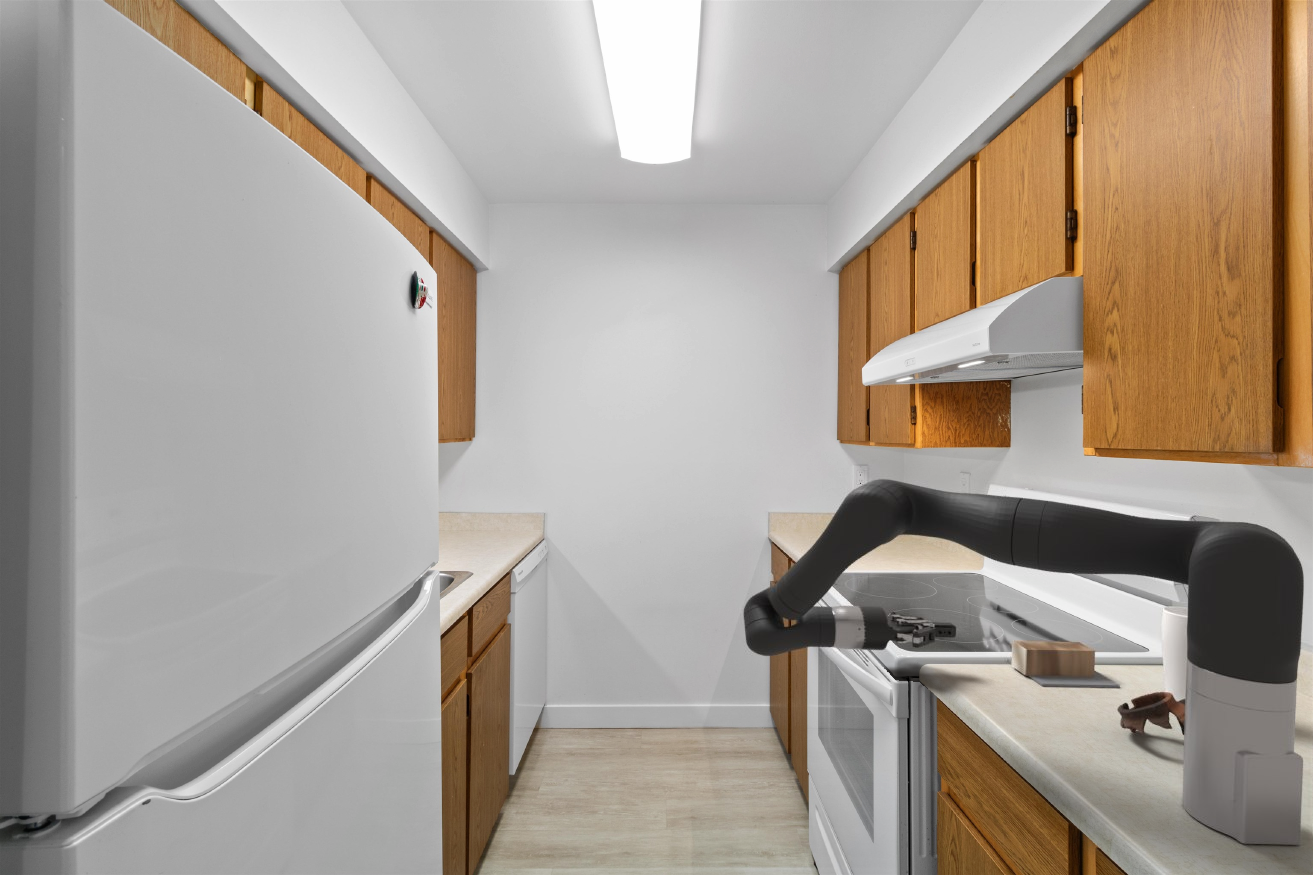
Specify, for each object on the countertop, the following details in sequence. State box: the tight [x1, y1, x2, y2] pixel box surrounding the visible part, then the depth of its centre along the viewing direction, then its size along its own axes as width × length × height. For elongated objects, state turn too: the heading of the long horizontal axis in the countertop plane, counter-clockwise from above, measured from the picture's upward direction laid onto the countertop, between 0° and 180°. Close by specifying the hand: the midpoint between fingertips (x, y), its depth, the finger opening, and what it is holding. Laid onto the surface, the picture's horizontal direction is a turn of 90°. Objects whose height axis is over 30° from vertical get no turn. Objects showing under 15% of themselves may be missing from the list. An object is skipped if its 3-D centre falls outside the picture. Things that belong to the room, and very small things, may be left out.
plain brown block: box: [1010, 640, 1096, 676], centre depth 117 cm, size 4×4×12 cm
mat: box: [1006, 659, 1121, 689], centre depth 117 cm, size 12×13×1 cm
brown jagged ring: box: [1117, 691, 1185, 736], centre depth 92 cm, size 12×9×8 cm
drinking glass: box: [1160, 605, 1188, 701], centre depth 104 cm, size 7×7×15 cm
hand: (953, 630), depth 117 cm, fingers closed
